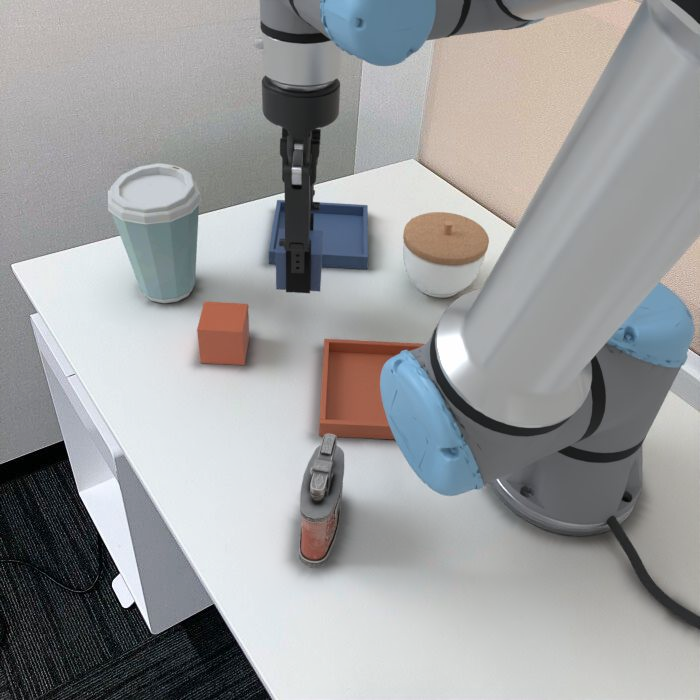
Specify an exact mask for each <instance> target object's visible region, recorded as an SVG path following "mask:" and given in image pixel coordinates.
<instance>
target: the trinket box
mask: <svg viewBox="0 0 700 700" xmlns="http://www.w3.org/2000/svg"><path fill="white" fill-rule="evenodd" d="M402 239H403V243H402V262H403V266H404V270H405V272H406V275H407V276H408V278H409V280H410V281H411V282H412V283H413V284H414V285H415V286H416V288H417V289H418V291H420V292H421V293H422V294H424V295H427V296H429V297H433V298H440V299H443V298H444V299H445V298H451V297H453V296H455V295H457V294H458V293H460V292H462V291H464V290H466V289H467V288H468V287H470V285H471V284H472V283H474V281H475V280H476V279H477V277H478V275H479V273H480V272H481V270H482V267H483V264H484V261H485V257H486V253H487V251H488V248H489V244H490V239H489V235H488V233H487V231H486V229H485V228H483V226H482V225H480V224H479V223H478V222H476V221H475V220H474V219H471V218H469V217H467V216H464V215H461V214H457V213H452V212H445V211H433V212H426V213H422V214H419V215H416V216H415V217H412V218H411V219H410V220H409V221H408V222H407V223H406V224H405V226H404V228H403V237H402Z"/></svg>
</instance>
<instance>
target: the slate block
mask: <svg viewBox="0 0 700 700" xmlns="http://www.w3.org/2000/svg"><path fill="white" fill-rule="evenodd" d="M280 239H285V229H279V235H278V241H277V247H276V264H275V289H276V290H279V291H280V290H282V291H286V251H285V247H284V246H279V241H280ZM310 240H311V283H310V292H319V293H320V292H321V285H322V269H323V267H322V248H323V231H317V230H310Z"/></svg>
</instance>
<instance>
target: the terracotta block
mask: <svg viewBox="0 0 700 700" xmlns="http://www.w3.org/2000/svg"><path fill="white" fill-rule="evenodd" d="M249 315H250V314H249V303H241V302H240V303H239V302H224V301H223V302H221V301H203V306H202V309H201V313H200V316H199V321H198V323H197V328H196V332H197V333H196V334H197V343H198V344H197V345H198V351H199V352H198V353H199V359H200V360H199V363H200V364H216V365H217V364H218V365H235V366H245V365H246V359H247V353H248V347H249V341H250V317H249Z"/></svg>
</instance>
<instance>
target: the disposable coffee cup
mask: <svg viewBox="0 0 700 700" xmlns="http://www.w3.org/2000/svg"><path fill="white" fill-rule="evenodd" d="M201 203H202V197H201V193H200V189H199V187H198V182H196V181H195V180H194V178H193V174H192V173H191V172H189V171H187V170H186V169H184V168H182V167H180V166H178V165H175V164H174V165H173V164H169V163H168V164H167V163H161V162H158V163H151V164H145V165H139V166H137V167H135V168H133V169H131V170H129V171H127V172H125V173H122V174H121V175H120V176H119V177H118V178H117V179H116V180H115V181H114V182H113V184H112V185H111V186H110V188H109V189H108V191H107V207H108V208H107V209H108V212H110V213H111V216H112V218H113V221H114V223H115V226H116V228H117V232H118V234H119V236H120V239H121V241H122V244H123V246H124V250H125V252H126V254H127V257H128V260H129V263H130V265H131V268H132V270H133V273H134V276H135V278H136V281H137V283H138V286H139V289H140V291H141V292H142V293H143V294H144V296H145V298H148V299H149V300H150V301H151V302H154V303H155V302H156V303H159V304H169V303H178V302H179V301H181V300H183V299H185V298H187V297H189V296H190V294H191V293H192V292H193V290H194V286H195V285H196V271H197V269H196V268H197V251H198V249H197V248H198V235H199V234H198V232H199V231H198V229H199V212H200V211H199V210H200V204H201Z"/></svg>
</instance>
